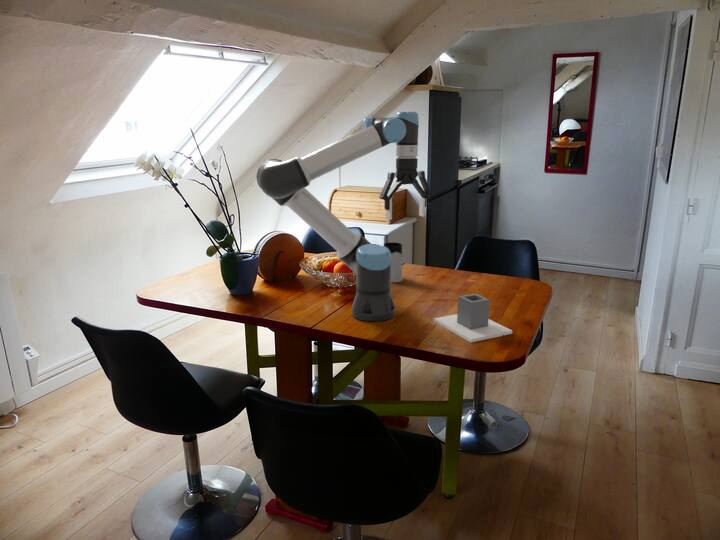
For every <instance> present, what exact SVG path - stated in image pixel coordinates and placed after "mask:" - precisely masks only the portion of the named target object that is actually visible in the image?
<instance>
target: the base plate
mask: <svg viewBox="0 0 720 540" xmlns="http://www.w3.org/2000/svg"><path fill="white" fill-rule="evenodd" d="M433 322H434V323H436V324H438V325H440V326H441V327H443V328H445V329H446V330H447V331H450V332H451V333H453V334H455V335H457V336H459V337H460V338H462V339H464V340H465V341H467V342H468V343H470V344H471V343H475V342H479V341H483V340H484V341H485V340H490V339H494V338H499V337H503V335H504V336H508V335H512V334H513V330H512V329H510V328H508V327H506V326H504V325H501V324H499V323H498V322H496V321H493V320H492V319H490V318H488V326H487V327H482V328H477V329H472V330H469V329H468V328H466V327H464V326H462V325H460V324H458V323H457V314H456V313H455V314H452V315H451V314H450V315H445V316H439V317H434V318H433Z"/></svg>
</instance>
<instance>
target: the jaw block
mask: <svg viewBox="0 0 720 540" xmlns="http://www.w3.org/2000/svg"><path fill="white" fill-rule="evenodd" d="M489 315H490V299H489V298H486V297H484V296H482V295H480V294H478V293H471V294H465V295H459V296H458V297H457V323H458V324H460V325H462V326H464V327H466V328H468V329H469V330H472V329H477V328H482V327H487V326H488V319H490V317H489Z"/></svg>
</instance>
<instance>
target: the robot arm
mask: <svg viewBox="0 0 720 540" xmlns="http://www.w3.org/2000/svg"><path fill="white" fill-rule="evenodd" d="M419 119H420V118H419V113H418V112H417V111H398V112H396V116H395V117H394V116H393V117H373V116H372V117H365V118H364V119H363V121H362V125H361V130H359V131H357V132H355V133H353V134H350V135H348V136H347V137H345V138H342V139H340V140H338V141H336V142H335V141H334V142H333V143H331V144H328V145H327V146H325V147H323V148H320V149H318V150H316V151H313V152H312V153H309V154H307V155H306V156H303V157H297V156H295V157H292V158H291V159H288V160H285V161H283V160H281V159H278V158H273V159H271V158H270V159H268V160H266V161H264V162H263V163H262V164H261V165H260V166H259V168H258V169H257V172H256V182H257V184H258V186H259V188H260V189H261V191H262V192H263V193H264V194H265V195H266V196H268V197H270V198H271V199H272V200H273V201H275V203H277V204H278V205H279V206H280V207H288V208H289V209H290V210H291V211H293V213H295V215H297V217H299V218H300V219H301V220H303V222H304V223H306V224H307V226H308V227H310V228H311V229H313V231H314V232H315V233H316V234H318V235H319V236H320V237H321V238H322V239H323V240H325V242H327V243H328V244H329V245H330V246H331V247H332V248H333V249H334V250H335V251H336V257H337V258H338V259H339V260H341V262H343V263H344V264H345V265H346V267H348V268H349V269H350V270H352V271H353V274H355V275H356V278H355V279H356V280H355V281H356V291H355V292H356V293H355V296H354V300H353V302H352V306H351V316H352V317H353V318H354V319H356V320H360V321H364V322H365V321H366V322H383V321H388V320H391V319H392V318H394V317H395V316H396V306H395V303H394V299H393V297H392V294H391V293H392V292H391V284H392V282H391V261H392V260H391V253H390V250H389V249H388V248H387V247H385V246H384V245H380V244H376V243H371V242H370V241H369V240H368V239H367V238H366V237H364V236H363V234H361V233H360V232H353V231H352V230H351V229H349V227H347V225H345V224H344V222H342V221H341V220H340V219H339V218H338V217H337V216H336V215H335V214H334V213H332V212H331V210H329V209H328V208H327V207H326V206H325V205H324V204H323V203H322V202H321V201H319V199H317V197H315V196H314V195H313V194H312V193H311V192H310V191H309V190H308V189H307V188H306V187H309V186H310V184H311V182H312V181H313V180H316V179H317V178H320V177H321V176H324V175H326V174H329V173H331V172H332V171H335V170H336V169H338V168H341V167H343V166H345V165H347V164H349V163H352V162H353V161H356V160H357V159H360V158H362V157H363V156H364V157H365V156H366V155H368V154H370V153H372V152H374V151H376V150H379V149H381V148H383V147H386V146H387V145H389V144H396V149H395V151H396V153H395V156H396V157H397V158H395V172H393V171H392V172H391V171H388V173H387V178H386V181H385V184H384V185H383V187H382V190H381V192H380V194H379V199H380V200H383V201H384V206H383V207H384V210H385V212H386V215H385V216H386V217H385V219H387V220H390V221H391V220H393V201H392V198H393V196H394V195H395V194H396V193H397V191H398V190H399V188H400V187H401V186H402V185H404V186H405V185H412V186H413V187H414V188H415V190H416V191H417V193H418V194H419V195H420V197H419V200H418V203H419V205H418V216H420V217H423V218H424V217H426V216H425V215H426V213H425V212H426V210H425V209H426V207H427V205H428V199H429V198H430V197H432V196H433V194H432V190H431V188H430V186H429V183H428V180H427V178H426V172H425V171H424V170H418V162H419V161H418V158H417V157H418V151H419V150H418V149H419V147H418V145H419V126H420V123H419ZM417 177H418V179H419V181H418V179H417ZM395 178H396V179H395ZM394 180H395V181H394ZM419 182H420V183H419ZM393 183H394V184H393ZM420 184H421V185H420Z"/></svg>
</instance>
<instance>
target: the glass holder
mask: <svg viewBox="0 0 720 540" xmlns="http://www.w3.org/2000/svg"><path fill="white" fill-rule="evenodd" d="M383 246H385V247H387V248H388V249H389V250H390V253H391V260H392V261H391V283H399V282H402V281H403V280H404V278H403V244H402V243H400V242H384V244H383Z"/></svg>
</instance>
